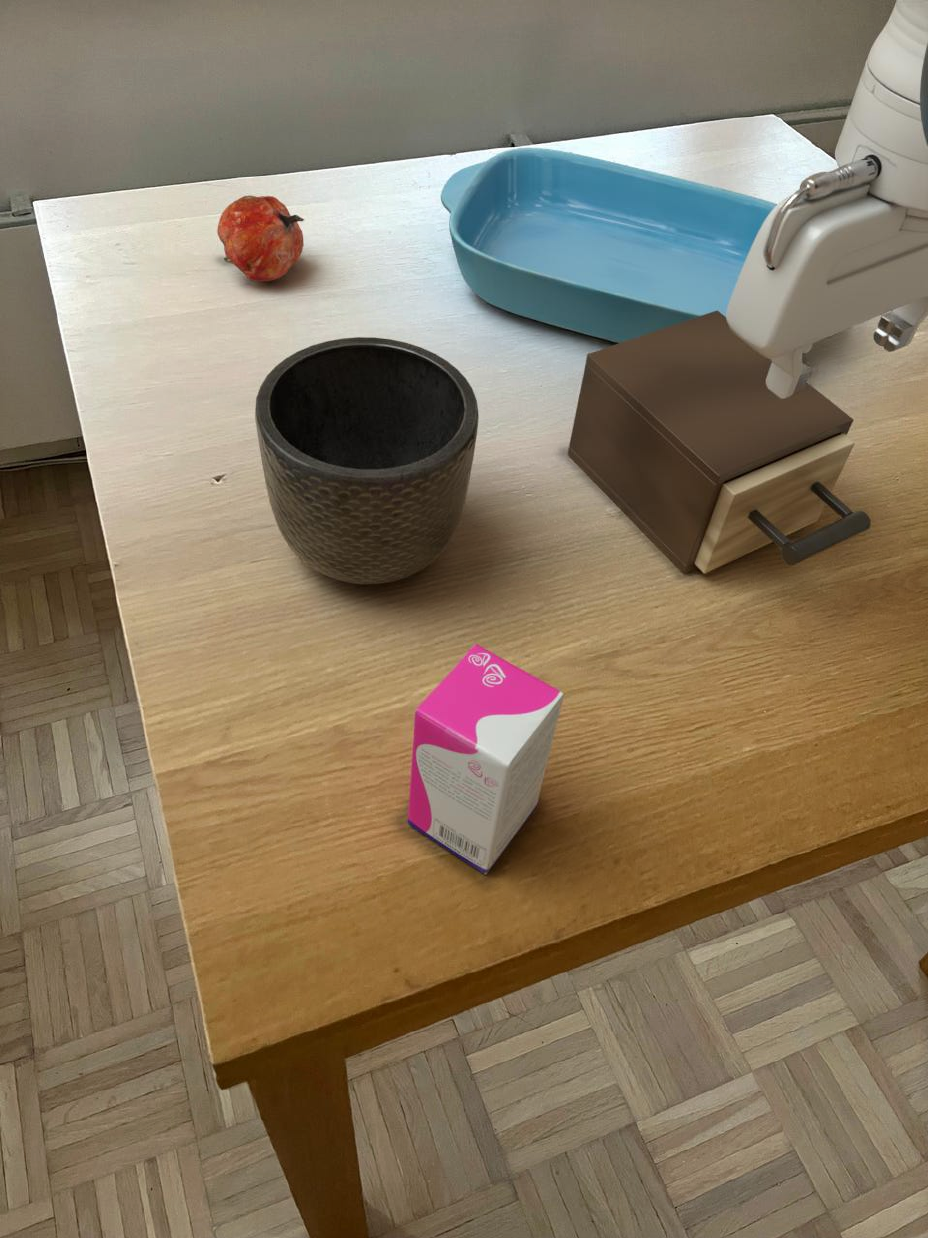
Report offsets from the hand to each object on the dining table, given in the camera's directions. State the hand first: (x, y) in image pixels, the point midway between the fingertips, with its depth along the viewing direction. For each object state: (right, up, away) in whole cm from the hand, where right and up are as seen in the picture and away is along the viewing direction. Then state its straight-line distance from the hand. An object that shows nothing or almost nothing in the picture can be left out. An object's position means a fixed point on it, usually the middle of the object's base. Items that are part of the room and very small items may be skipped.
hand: (837, 366), depth 62 cm
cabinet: (-5, -5, +18) cm, 19 cm away
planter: (-30, -10, +12) cm, 33 cm away
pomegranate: (-41, +17, +33) cm, 55 cm away
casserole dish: (-7, +15, +35) cm, 38 cm away
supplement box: (-22, -27, -1) cm, 35 cm away
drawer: (-3, -7, +15) cm, 17 cm away
